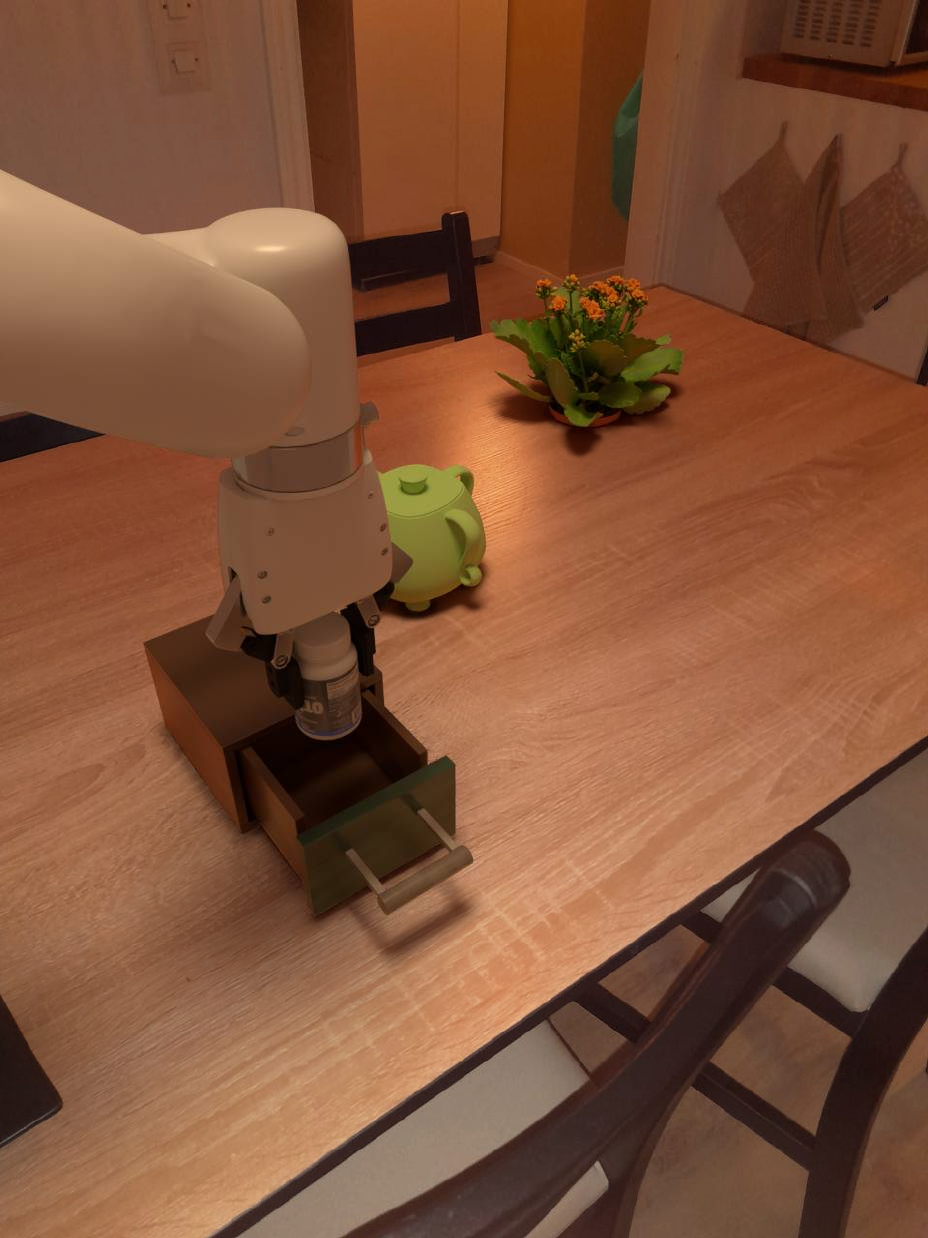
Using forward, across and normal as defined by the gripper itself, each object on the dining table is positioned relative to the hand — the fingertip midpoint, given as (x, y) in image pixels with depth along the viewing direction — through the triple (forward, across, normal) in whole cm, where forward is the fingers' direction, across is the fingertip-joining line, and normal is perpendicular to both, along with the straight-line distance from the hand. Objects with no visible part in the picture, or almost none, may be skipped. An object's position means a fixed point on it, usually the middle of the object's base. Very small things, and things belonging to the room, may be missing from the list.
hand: (324, 679), depth 66 cm
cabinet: (+15, 0, -11) cm, 19 cm away
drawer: (+14, 0, +3) cm, 15 cm away
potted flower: (+16, -62, -41) cm, 76 cm away
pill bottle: (+4, 0, 0) cm, 4 cm away
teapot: (+16, -22, -23) cm, 35 cm away
